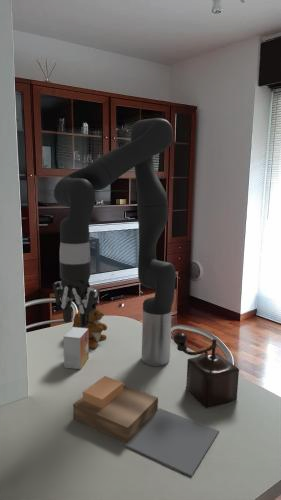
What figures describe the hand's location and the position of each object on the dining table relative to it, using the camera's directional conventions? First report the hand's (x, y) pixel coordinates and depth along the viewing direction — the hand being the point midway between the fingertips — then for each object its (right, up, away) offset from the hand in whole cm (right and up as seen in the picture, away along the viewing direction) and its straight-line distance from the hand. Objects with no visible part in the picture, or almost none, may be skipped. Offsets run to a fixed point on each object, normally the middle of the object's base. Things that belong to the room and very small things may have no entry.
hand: (75, 323), depth 96 cm
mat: (+24, -24, -11) cm, 36 cm away
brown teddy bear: (-3, -14, +40) cm, 42 cm away
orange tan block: (+7, -18, -1) cm, 20 cm away
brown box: (+11, -23, -3) cm, 25 cm away
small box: (-4, -17, +23) cm, 29 cm away
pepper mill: (+34, -22, +7) cm, 41 cm away
